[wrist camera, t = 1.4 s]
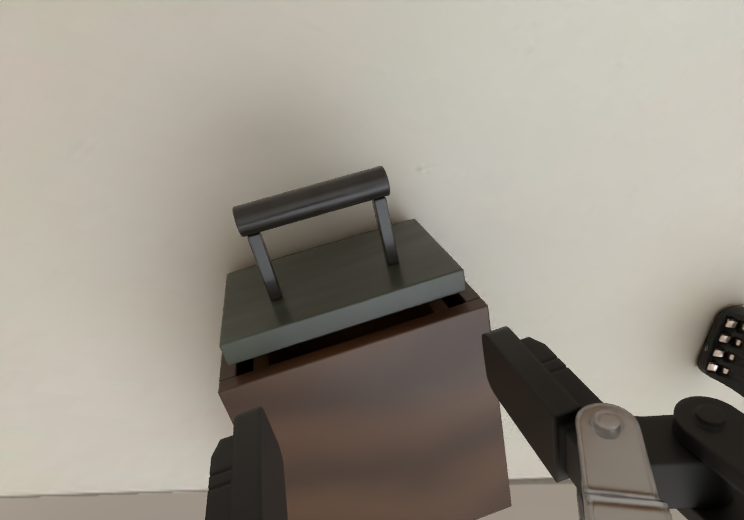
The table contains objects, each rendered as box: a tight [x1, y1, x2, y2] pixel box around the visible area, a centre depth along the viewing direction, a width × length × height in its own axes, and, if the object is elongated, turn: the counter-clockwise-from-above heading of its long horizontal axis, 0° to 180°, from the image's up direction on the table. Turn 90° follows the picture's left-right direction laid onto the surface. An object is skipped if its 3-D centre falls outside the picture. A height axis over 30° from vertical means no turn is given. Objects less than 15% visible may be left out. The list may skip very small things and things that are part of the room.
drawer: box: [219, 166, 466, 371], centre depth 26 cm, size 18×11×7 cm, turn 13°
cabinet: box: [218, 281, 511, 520], centre depth 28 cm, size 15×13×9 cm
